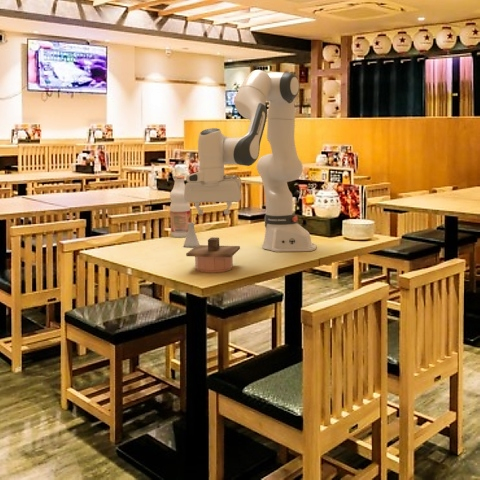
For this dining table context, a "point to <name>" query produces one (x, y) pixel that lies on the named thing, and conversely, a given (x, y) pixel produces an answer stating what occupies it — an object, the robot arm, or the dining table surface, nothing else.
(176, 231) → the fruit juice
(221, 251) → the lid
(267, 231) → the robot arm
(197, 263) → the bowl
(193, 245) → the flask
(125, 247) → the dining table surface
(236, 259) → the dining table surface
